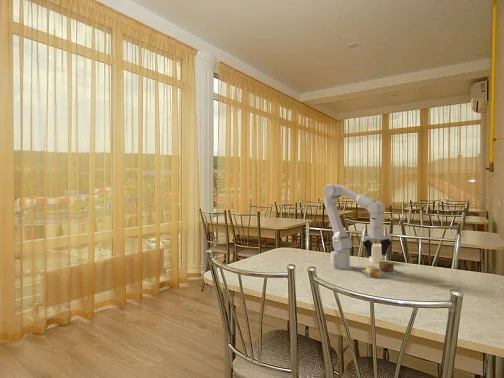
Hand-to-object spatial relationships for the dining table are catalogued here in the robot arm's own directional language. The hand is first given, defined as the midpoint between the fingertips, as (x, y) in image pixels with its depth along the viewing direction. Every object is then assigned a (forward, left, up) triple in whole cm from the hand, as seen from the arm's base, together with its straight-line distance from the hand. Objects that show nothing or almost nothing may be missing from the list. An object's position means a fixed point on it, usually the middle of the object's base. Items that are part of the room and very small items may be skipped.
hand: (376, 255), depth 155 cm
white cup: (+10, +25, -10) cm, 28 cm away
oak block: (-3, -2, -9) cm, 10 cm away
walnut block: (+7, +6, -9) cm, 13 cm away
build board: (+3, +2, -10) cm, 10 cm away
